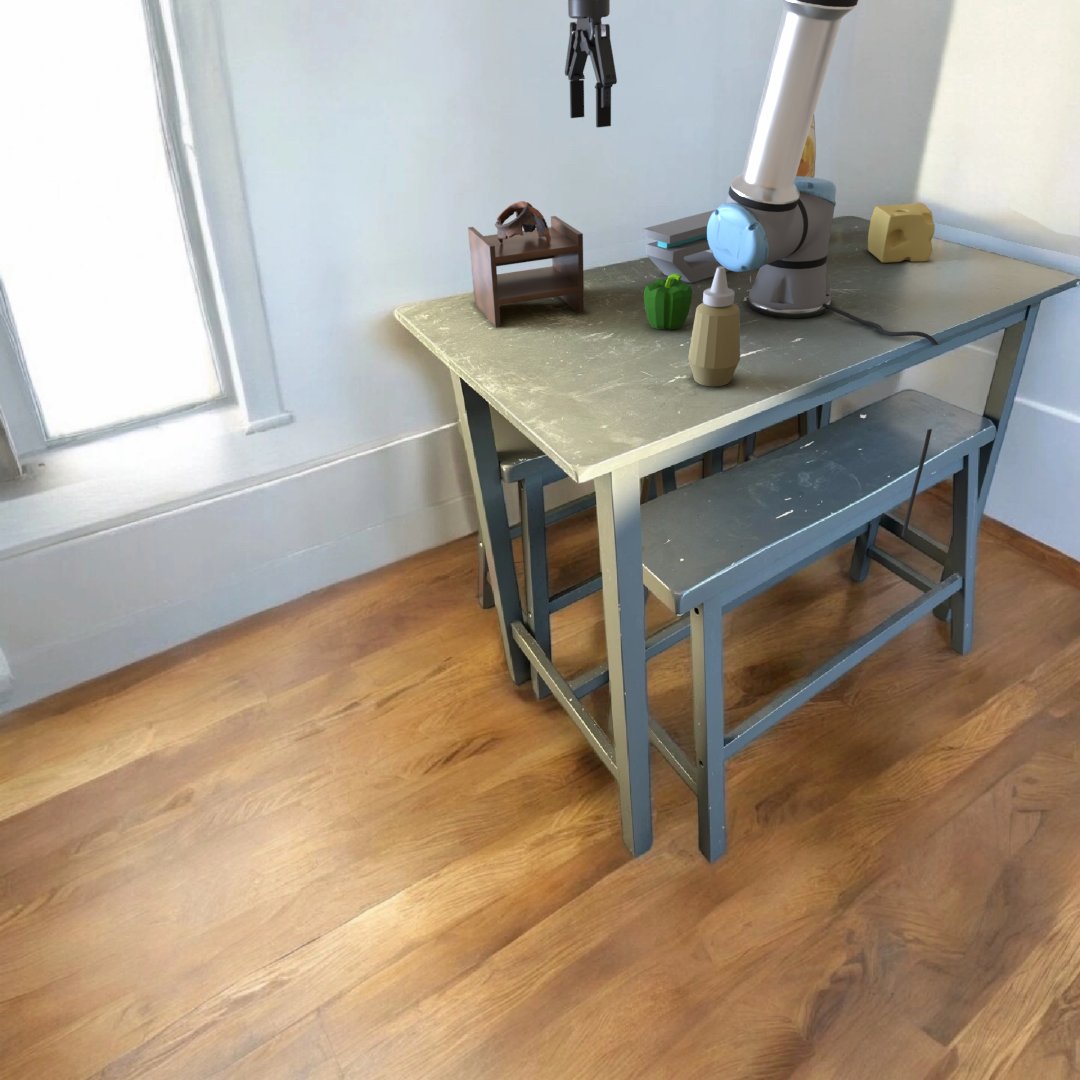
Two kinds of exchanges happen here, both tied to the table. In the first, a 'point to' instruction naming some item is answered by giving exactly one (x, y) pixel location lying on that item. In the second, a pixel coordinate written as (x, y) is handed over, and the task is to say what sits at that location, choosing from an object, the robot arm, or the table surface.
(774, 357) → the table surface
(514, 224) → the pottery mug
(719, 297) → the squeeze bottle
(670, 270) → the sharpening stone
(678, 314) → the bell pepper
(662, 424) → the table surface
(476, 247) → the shelf
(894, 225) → the cheese
